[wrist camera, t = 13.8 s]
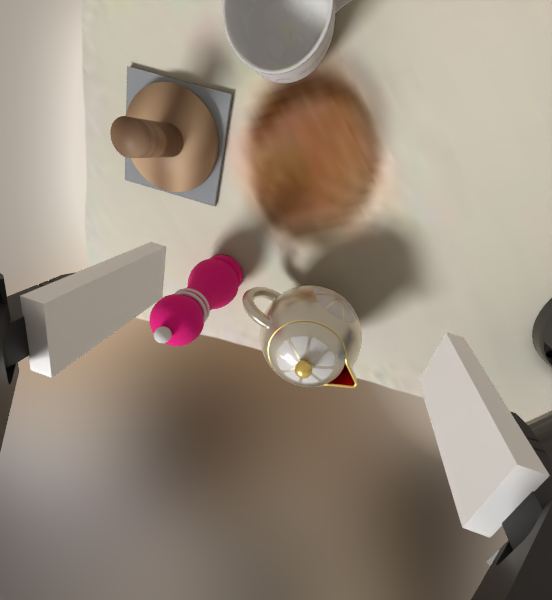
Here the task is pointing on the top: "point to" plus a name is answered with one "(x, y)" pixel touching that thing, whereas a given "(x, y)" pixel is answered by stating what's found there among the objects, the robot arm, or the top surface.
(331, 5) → the teacup
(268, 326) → the teapot
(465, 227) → the top surface
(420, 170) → the top surface
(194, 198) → the mat
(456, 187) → the top surface
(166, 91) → the lid
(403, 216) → the top surface
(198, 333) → the pepper mill
